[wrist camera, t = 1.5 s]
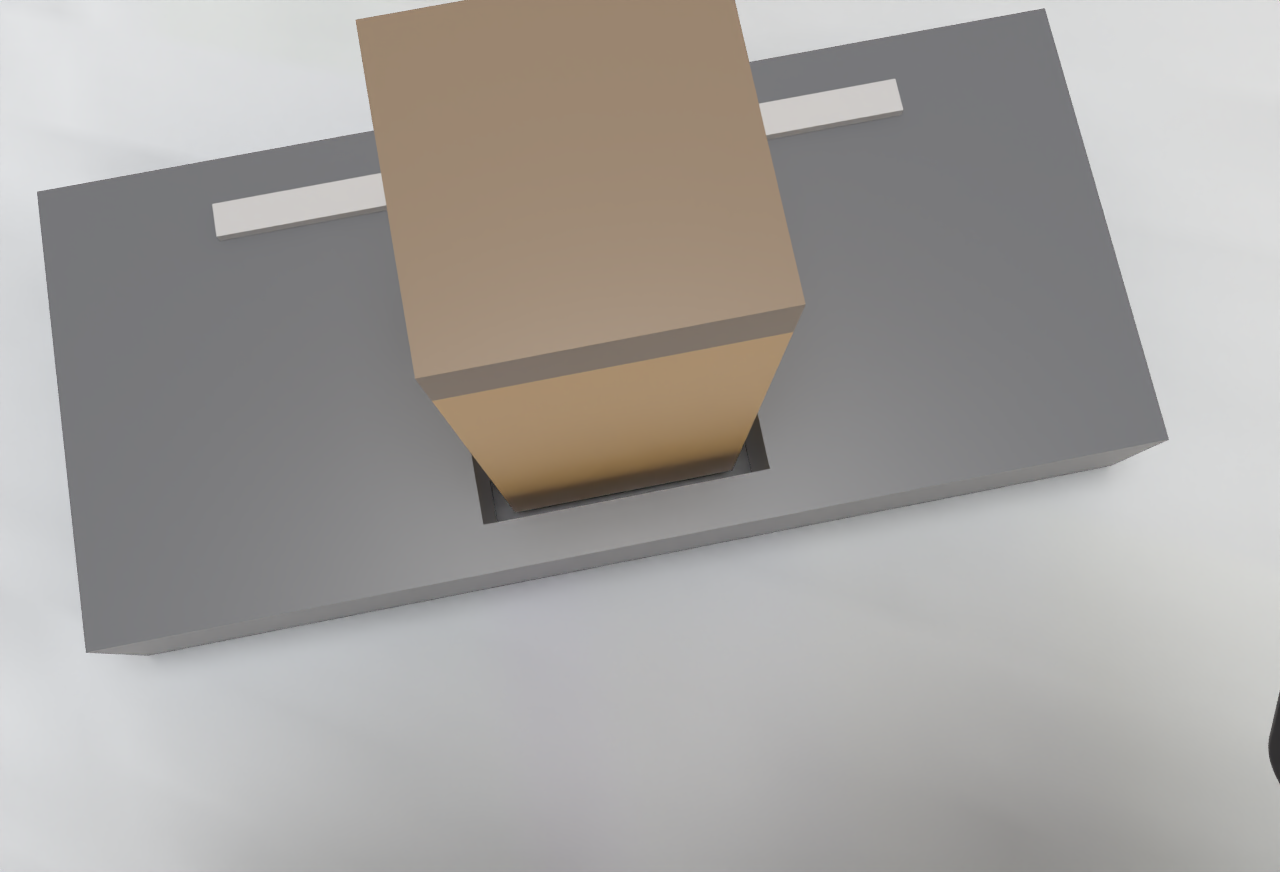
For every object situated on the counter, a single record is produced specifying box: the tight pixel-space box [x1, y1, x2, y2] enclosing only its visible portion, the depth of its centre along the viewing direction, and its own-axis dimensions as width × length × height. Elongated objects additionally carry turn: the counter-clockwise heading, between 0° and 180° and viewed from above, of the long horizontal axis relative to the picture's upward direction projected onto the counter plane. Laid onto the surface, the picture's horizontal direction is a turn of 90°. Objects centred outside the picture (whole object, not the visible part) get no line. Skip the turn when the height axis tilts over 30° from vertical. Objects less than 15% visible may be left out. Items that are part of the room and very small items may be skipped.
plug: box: [356, 0, 806, 513], centre depth 18 cm, size 4×4×10 cm
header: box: [37, 8, 1169, 655], centre depth 22 cm, size 8×18×3 cm, turn 101°
